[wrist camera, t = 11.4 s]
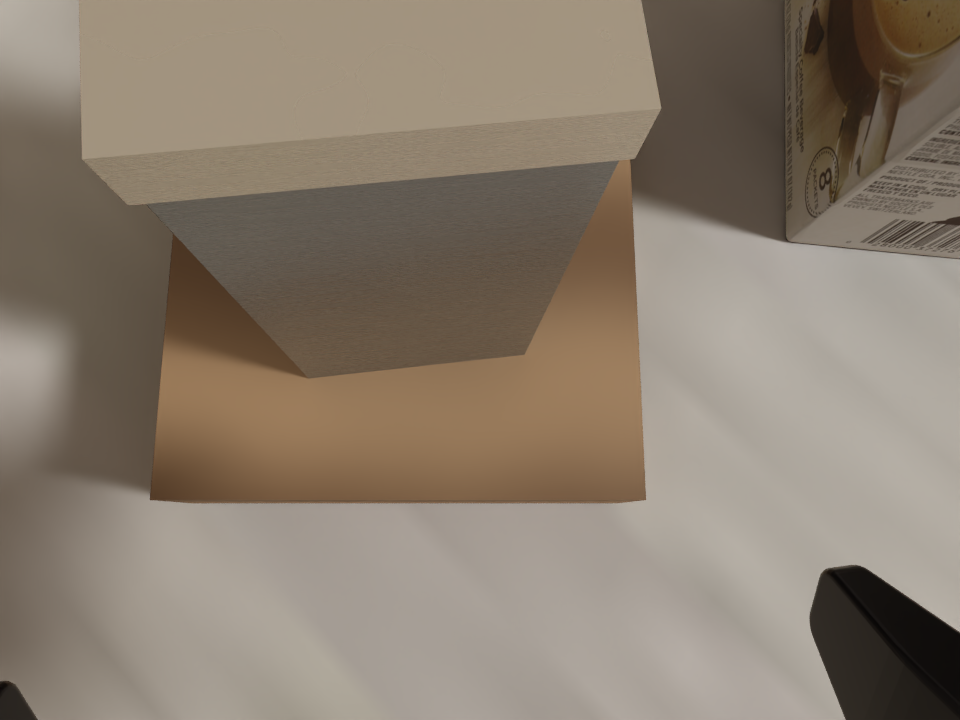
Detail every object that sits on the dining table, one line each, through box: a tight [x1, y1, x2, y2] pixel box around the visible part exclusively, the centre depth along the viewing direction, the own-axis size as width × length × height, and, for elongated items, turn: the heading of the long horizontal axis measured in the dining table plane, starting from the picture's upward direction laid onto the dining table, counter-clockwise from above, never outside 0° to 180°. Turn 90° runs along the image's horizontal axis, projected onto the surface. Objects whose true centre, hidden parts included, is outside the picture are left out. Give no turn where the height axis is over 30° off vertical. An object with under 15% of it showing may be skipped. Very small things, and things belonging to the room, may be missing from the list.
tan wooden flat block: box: [150, 159, 646, 503], centre depth 20 cm, size 11×11×3 cm
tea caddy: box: [79, 0, 661, 378], centre depth 13 cm, size 5×5×11 cm
